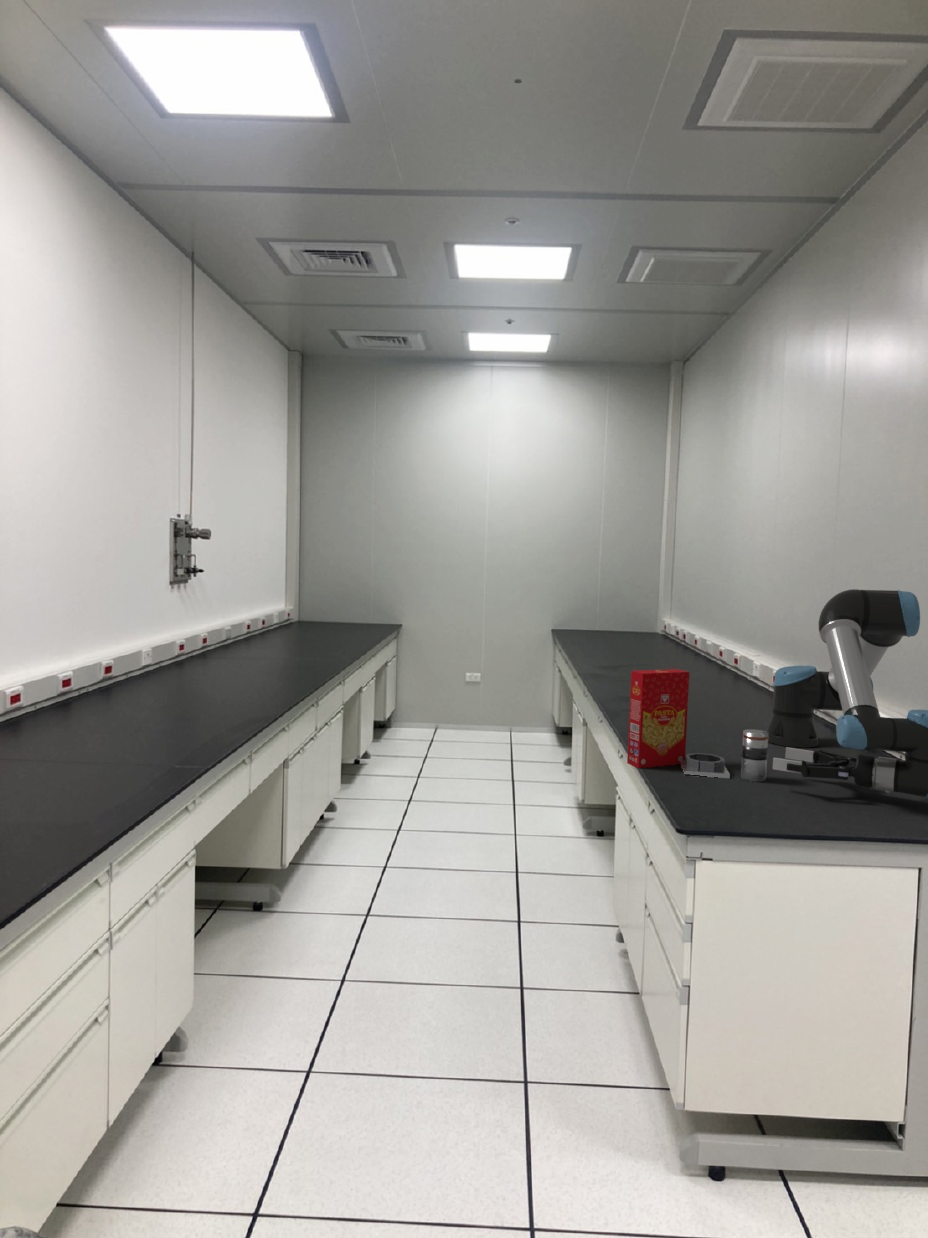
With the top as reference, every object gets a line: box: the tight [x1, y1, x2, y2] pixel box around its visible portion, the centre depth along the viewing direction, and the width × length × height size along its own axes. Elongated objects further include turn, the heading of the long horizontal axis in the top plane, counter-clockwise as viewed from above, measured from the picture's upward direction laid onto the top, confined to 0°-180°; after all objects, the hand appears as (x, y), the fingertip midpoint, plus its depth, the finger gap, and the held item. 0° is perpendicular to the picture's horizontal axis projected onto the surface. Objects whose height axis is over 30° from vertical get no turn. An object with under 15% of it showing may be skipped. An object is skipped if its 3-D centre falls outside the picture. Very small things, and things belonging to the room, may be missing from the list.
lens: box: [740, 728, 769, 783], centre depth 205 cm, size 6×6×12 cm
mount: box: [679, 752, 731, 779], centre depth 211 cm, size 11×11×4 cm
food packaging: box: [626, 668, 690, 769], centre depth 217 cm, size 15×5×25 cm, turn 112°
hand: (779, 757), depth 201 cm, fingers open, 13 cm apart
